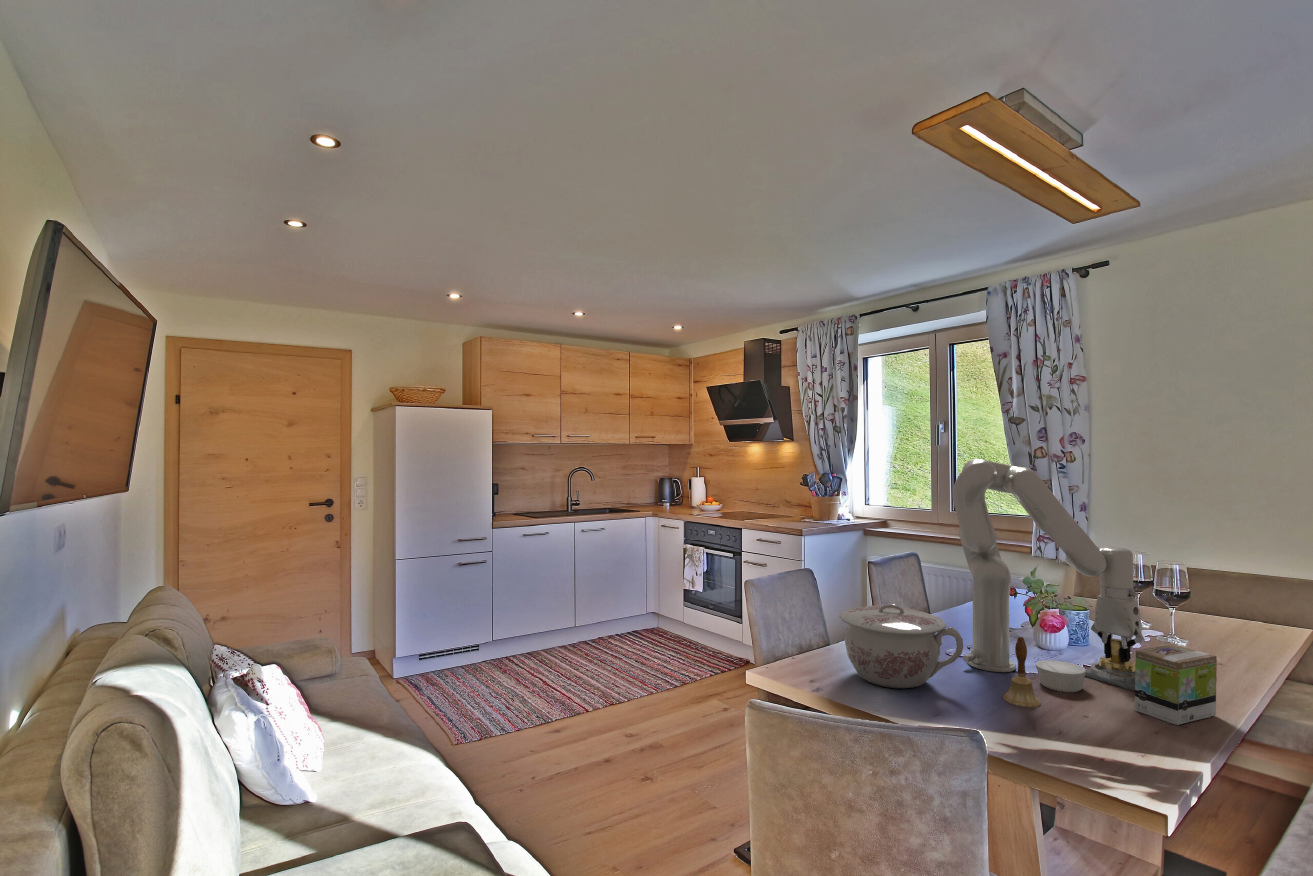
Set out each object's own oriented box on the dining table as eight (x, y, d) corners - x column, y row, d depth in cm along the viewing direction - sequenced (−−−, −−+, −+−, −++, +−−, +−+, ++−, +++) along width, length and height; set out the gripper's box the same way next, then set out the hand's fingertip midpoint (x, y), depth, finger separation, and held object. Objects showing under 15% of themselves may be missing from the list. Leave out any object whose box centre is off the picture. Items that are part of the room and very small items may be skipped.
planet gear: (1125, 674, 175) (1124, 646, 175) (1093, 665, 183) (1092, 638, 183) (1142, 669, 179) (1142, 642, 179) (1110, 660, 186) (1110, 634, 186)
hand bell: (1040, 710, 159) (1039, 644, 159) (1001, 703, 163) (1001, 638, 164) (1041, 699, 166) (1041, 635, 166) (1004, 692, 170) (1004, 630, 171)
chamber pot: (819, 669, 187) (819, 596, 188) (898, 659, 197) (897, 589, 197) (885, 706, 161) (885, 621, 161) (972, 692, 171) (972, 612, 171)
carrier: (1149, 696, 168) (1149, 677, 168) (1081, 675, 183) (1081, 657, 183) (1175, 688, 174) (1175, 669, 174) (1106, 668, 189) (1106, 651, 189)
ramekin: (1026, 682, 178) (1026, 662, 178) (1054, 676, 182) (1054, 657, 183) (1066, 697, 168) (1066, 676, 168) (1095, 690, 172) (1095, 670, 172)
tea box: (1180, 727, 150) (1179, 662, 150) (1133, 711, 159) (1132, 649, 159) (1218, 716, 156) (1217, 654, 156) (1170, 701, 165) (1170, 642, 165)
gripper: (1157, 597, 175) (1158, 666, 175) (1093, 585, 190) (1094, 649, 190) (1142, 600, 172) (1142, 671, 172) (1077, 588, 187) (1078, 653, 186)
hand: (1117, 659), depth 181 cm, fingers closed on planet gear, 3 cm apart
